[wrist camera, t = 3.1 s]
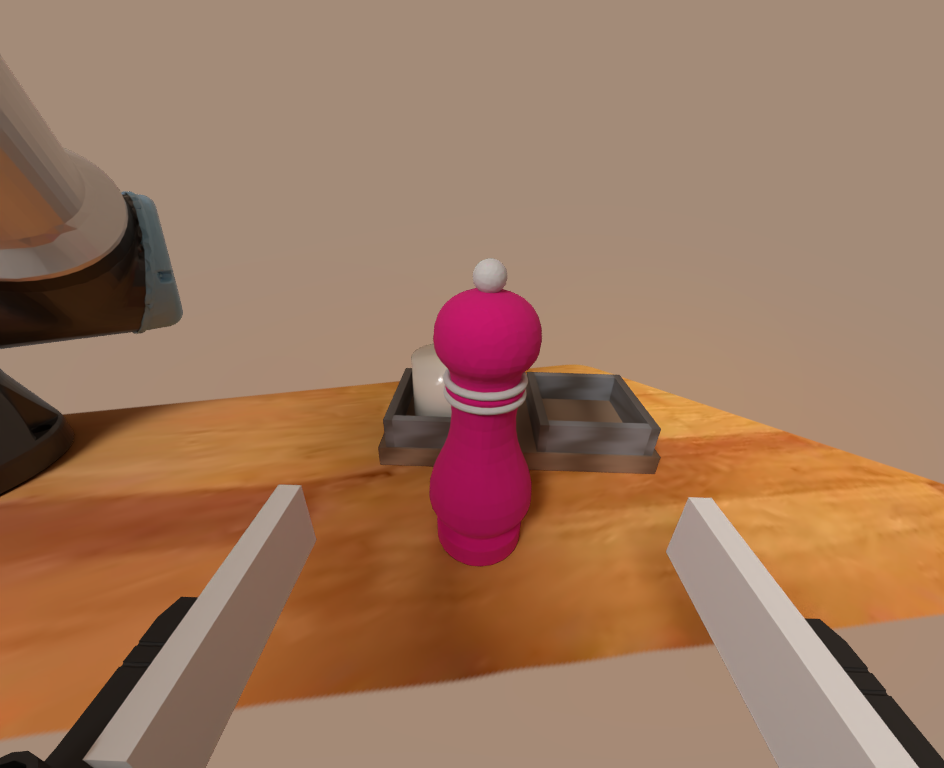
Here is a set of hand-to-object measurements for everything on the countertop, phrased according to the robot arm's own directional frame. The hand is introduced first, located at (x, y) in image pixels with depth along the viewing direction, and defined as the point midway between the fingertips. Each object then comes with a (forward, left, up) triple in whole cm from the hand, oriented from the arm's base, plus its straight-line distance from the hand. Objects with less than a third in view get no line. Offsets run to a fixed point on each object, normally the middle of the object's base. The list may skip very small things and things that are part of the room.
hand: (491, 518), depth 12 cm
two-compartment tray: (-3, +23, -13) cm, 26 cm away
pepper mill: (-3, +10, -13) cm, 16 cm away
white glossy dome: (-10, +21, -11) cm, 25 cm away
